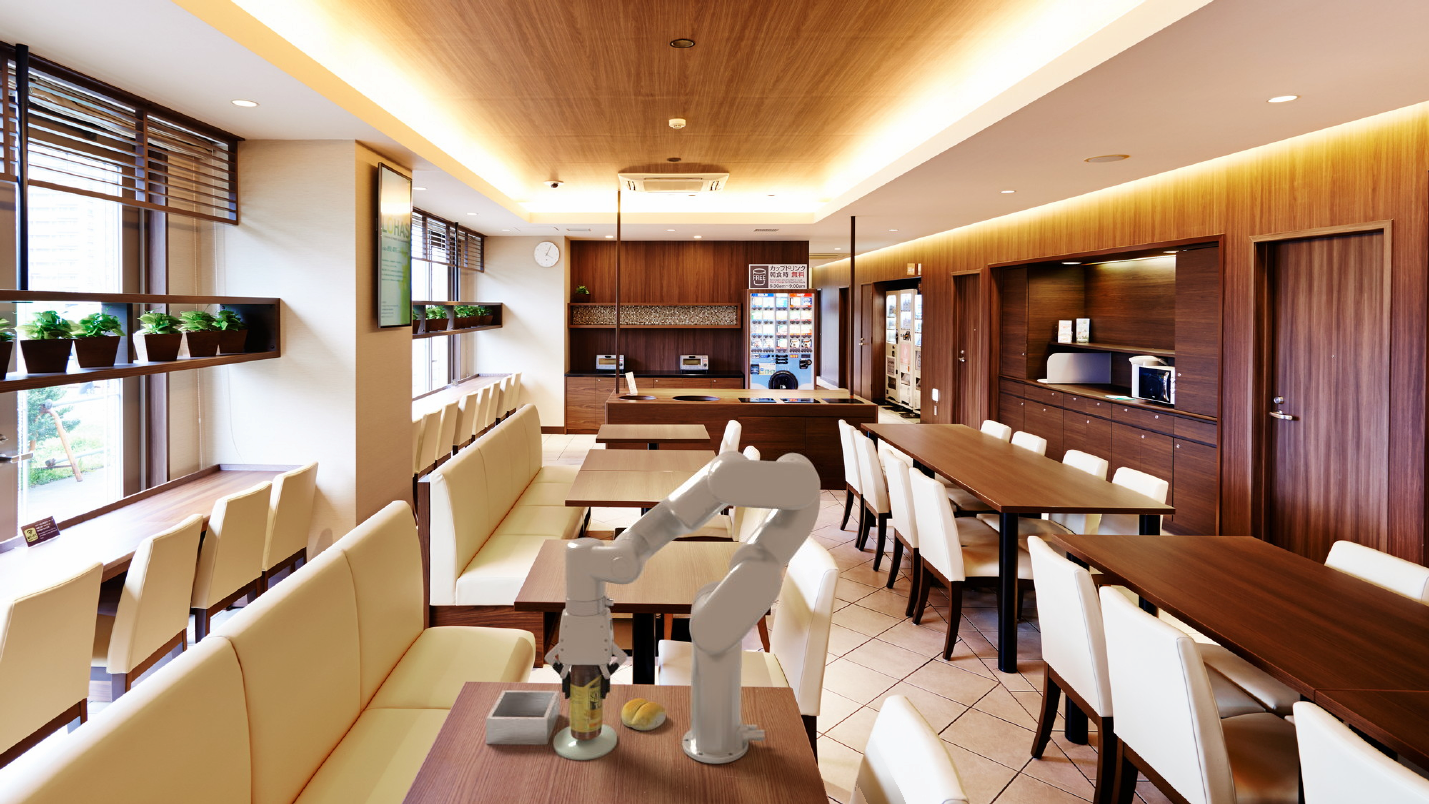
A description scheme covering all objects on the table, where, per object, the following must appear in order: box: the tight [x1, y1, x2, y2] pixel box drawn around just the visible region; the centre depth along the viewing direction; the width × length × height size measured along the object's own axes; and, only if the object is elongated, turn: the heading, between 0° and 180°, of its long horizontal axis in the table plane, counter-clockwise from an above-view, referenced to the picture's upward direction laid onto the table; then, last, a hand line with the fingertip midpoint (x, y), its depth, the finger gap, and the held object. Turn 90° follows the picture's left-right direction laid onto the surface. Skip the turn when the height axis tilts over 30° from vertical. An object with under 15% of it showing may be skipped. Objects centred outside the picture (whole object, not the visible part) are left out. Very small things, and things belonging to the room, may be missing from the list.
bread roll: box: [620, 697, 666, 731], centre depth 151 cm, size 8×9×4 cm
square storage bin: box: [485, 689, 560, 745], centre depth 147 cm, size 12×12×5 cm
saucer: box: [553, 723, 618, 761], centre depth 142 cm, size 12×12×1 cm
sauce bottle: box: [569, 665, 604, 740], centre depth 141 cm, size 7×6×20 cm
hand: (586, 695), depth 141 cm, fingers closed on sauce bottle, 6 cm apart
